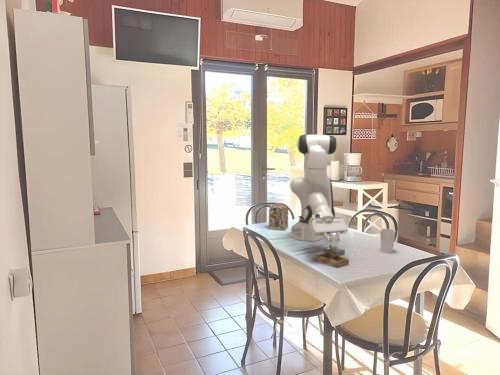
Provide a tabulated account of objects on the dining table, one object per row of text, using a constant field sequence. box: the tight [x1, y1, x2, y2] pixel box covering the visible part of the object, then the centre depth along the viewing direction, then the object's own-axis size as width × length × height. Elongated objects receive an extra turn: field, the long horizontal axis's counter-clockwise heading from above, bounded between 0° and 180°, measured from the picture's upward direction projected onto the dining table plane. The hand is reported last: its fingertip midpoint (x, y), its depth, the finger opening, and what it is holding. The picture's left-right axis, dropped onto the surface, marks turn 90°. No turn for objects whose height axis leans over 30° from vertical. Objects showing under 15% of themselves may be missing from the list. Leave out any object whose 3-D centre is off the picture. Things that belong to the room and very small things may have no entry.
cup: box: [379, 228, 397, 254], centre depth 208 cm, size 8×8×12 cm
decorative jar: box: [268, 202, 289, 231], centre depth 260 cm, size 12×12×18 cm
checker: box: [322, 246, 346, 256], centre depth 204 cm, size 9×7×3 cm
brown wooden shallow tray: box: [316, 252, 350, 269], centre depth 188 cm, size 14×9×3 cm, turn 37°
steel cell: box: [328, 231, 339, 251], centre depth 186 cm, size 4×4×10 cm
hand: (334, 241), depth 186 cm, fingers closed on steel cell, 4 cm apart
